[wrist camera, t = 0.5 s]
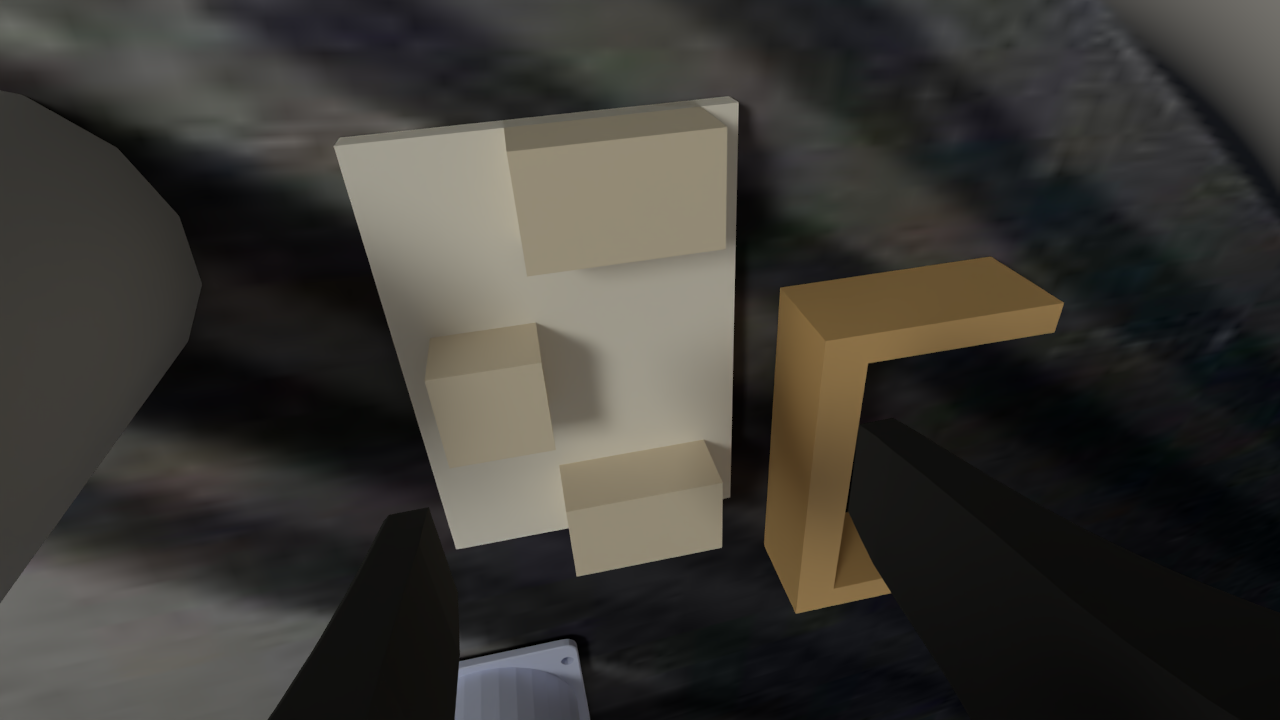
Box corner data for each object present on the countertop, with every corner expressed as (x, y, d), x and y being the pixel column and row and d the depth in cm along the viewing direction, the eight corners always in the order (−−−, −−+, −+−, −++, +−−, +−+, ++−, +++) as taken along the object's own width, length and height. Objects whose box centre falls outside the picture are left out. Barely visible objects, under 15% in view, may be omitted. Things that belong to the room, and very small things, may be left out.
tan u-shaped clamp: (990, 256, 22) (1064, 302, 20) (927, 512, 29) (975, 574, 26) (780, 287, 21) (825, 340, 19) (764, 545, 28) (795, 613, 25)
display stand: (729, 96, 18) (768, 122, 15) (723, 482, 26) (750, 541, 23) (339, 137, 17) (314, 173, 14) (456, 532, 24) (454, 601, 22)
